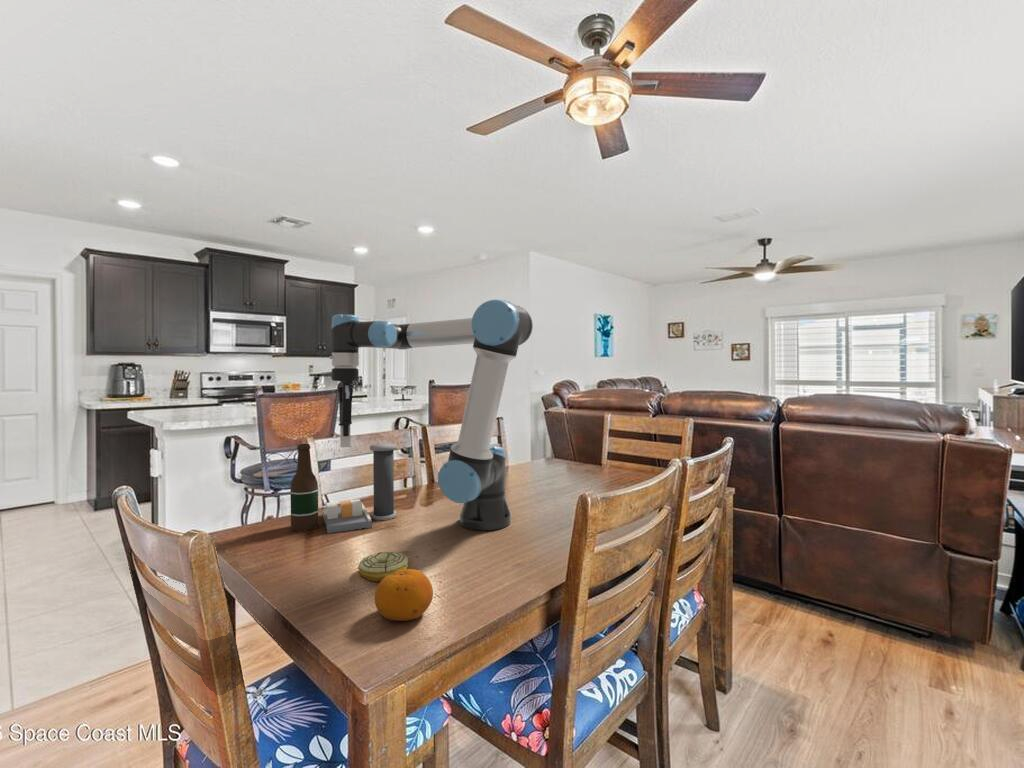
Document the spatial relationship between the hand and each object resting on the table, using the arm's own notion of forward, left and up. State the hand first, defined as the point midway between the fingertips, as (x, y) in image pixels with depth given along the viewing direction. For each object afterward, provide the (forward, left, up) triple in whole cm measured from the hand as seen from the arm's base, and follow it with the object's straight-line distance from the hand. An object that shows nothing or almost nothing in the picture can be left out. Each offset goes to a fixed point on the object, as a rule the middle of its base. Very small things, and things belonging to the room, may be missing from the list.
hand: (345, 446), depth 143 cm
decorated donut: (-41, -4, -23) cm, 47 cm away
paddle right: (0, -3, -20) cm, 21 cm away
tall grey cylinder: (0, -11, -22) cm, 25 cm away
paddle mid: (0, 0, -20) cm, 20 cm away
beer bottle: (-1, +11, -23) cm, 25 cm away
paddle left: (0, +4, -20) cm, 21 cm away
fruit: (-61, -4, -23) cm, 65 cm away
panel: (0, 0, -22) cm, 22 cm away
